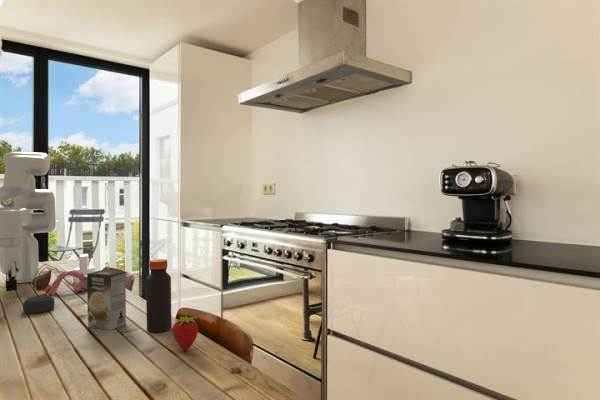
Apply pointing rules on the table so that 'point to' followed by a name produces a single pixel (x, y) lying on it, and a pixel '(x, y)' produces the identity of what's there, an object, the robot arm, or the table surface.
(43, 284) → the anatomy model
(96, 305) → the coffee box
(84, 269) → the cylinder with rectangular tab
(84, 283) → the charging dock
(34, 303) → the smart speaker
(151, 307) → the bottle
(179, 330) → the strawberry
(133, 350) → the table surface
